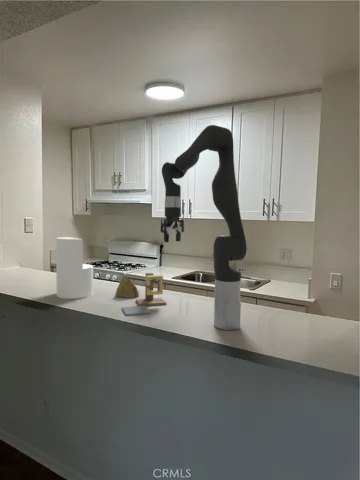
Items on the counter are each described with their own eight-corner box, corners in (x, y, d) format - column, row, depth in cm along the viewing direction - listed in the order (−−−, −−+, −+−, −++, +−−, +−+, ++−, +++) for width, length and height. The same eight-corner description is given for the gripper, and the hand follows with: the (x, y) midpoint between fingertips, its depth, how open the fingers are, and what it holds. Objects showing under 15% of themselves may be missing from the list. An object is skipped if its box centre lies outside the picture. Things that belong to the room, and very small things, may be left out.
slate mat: (150, 313, 133) (150, 312, 133) (126, 315, 130) (126, 314, 130) (144, 306, 143) (144, 305, 143) (121, 308, 140) (121, 307, 140)
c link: (162, 294, 143) (162, 276, 143) (146, 295, 141) (147, 276, 141) (160, 292, 146) (161, 274, 146) (145, 293, 144) (145, 275, 143)
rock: (144, 291, 162) (130, 285, 168) (138, 279, 157) (124, 274, 163) (130, 307, 157) (116, 301, 162) (124, 295, 151) (109, 289, 157)
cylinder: (65, 300, 151) (64, 239, 148) (51, 293, 164) (50, 237, 161) (99, 295, 162) (99, 238, 160) (84, 288, 175) (83, 236, 173)
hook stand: (169, 307, 142) (170, 278, 141) (142, 309, 138) (142, 279, 137) (160, 299, 156) (161, 272, 155) (135, 301, 152) (135, 273, 151)
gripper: (169, 206, 144) (168, 243, 145) (188, 207, 155) (188, 241, 156) (156, 206, 148) (156, 242, 150) (176, 207, 160) (175, 240, 161)
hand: (172, 241), depth 153 cm, fingers open, 8 cm apart
